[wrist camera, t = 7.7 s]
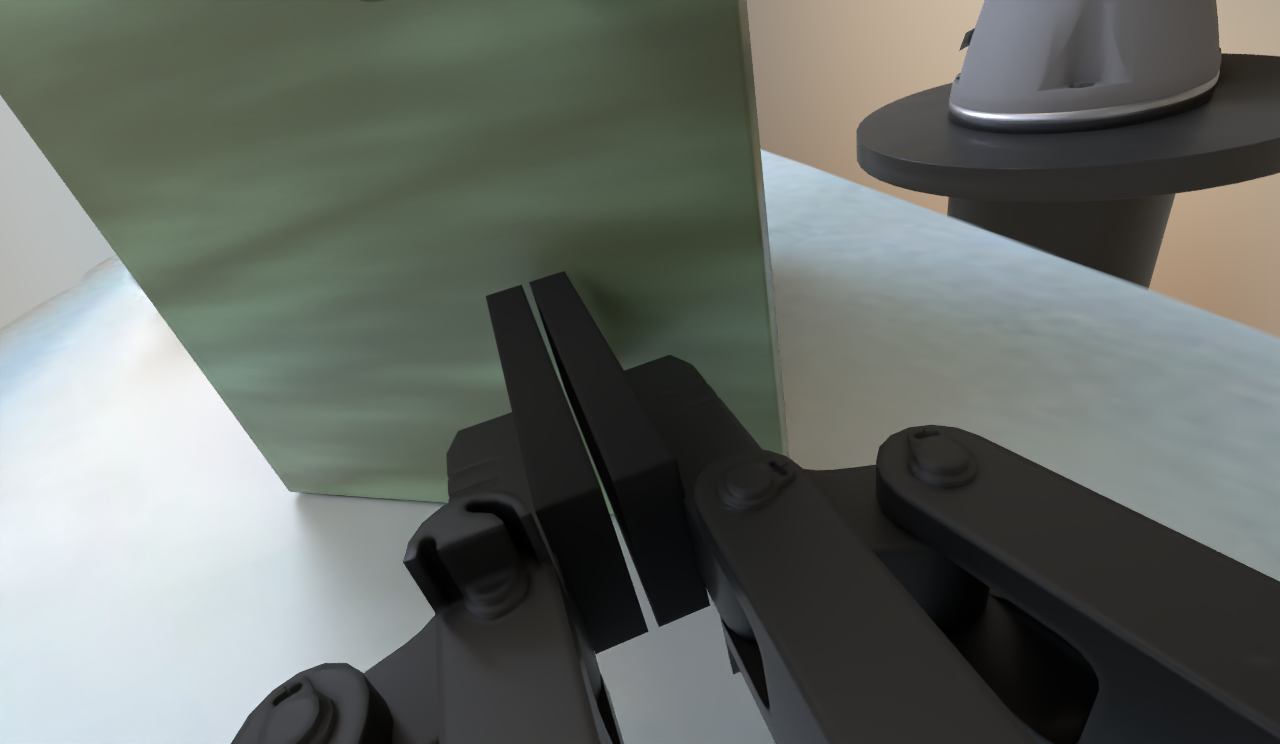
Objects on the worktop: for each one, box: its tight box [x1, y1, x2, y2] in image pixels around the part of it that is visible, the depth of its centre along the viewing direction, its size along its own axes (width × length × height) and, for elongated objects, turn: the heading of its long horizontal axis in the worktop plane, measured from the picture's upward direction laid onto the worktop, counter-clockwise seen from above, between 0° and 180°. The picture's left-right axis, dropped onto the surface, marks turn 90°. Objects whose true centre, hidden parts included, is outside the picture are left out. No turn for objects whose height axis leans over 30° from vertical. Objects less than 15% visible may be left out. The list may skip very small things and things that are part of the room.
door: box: [0, 0, 789, 515], centre depth 11 cm, size 6×17×19 cm, turn 74°
